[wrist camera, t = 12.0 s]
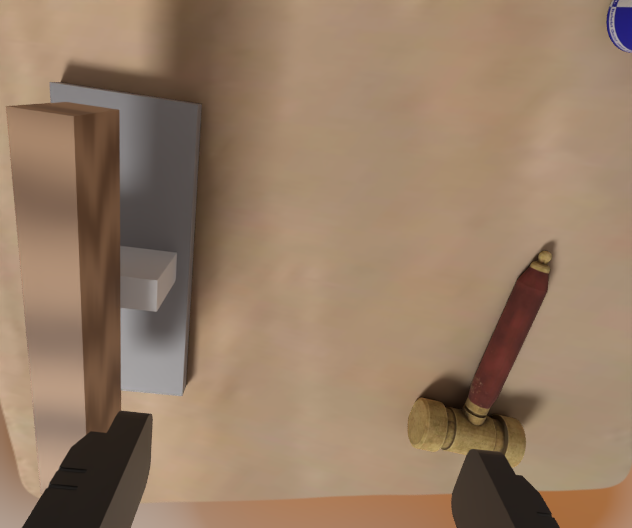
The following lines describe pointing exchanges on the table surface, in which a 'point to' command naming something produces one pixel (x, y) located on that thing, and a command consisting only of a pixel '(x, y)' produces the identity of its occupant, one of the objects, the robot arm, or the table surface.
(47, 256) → the walnut bar
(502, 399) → the table surface
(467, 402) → the gavel
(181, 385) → the fulcrum stand
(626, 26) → the beverage can
